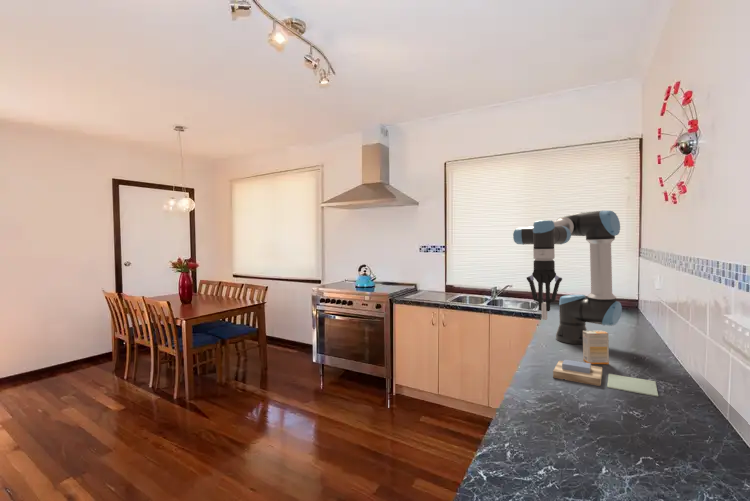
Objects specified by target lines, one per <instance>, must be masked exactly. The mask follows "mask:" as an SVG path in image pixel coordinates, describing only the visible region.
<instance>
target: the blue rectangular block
mask: <svg viewBox="0 0 750 501" xmlns="http://www.w3.org/2000/svg"><path fill="white" fill-rule="evenodd" d="M562 361H563V363H562V369H565V370H571V371H577V372H583V373H589V374H590V371H591V366H592V364H591V363H586V362H585V361H583V362H582V361H578V360H571V359H563V360H562Z"/></svg>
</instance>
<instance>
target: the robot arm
mask: <svg viewBox="0 0 750 501" xmlns="http://www.w3.org/2000/svg"><path fill="white" fill-rule="evenodd" d="M620 230H621V223H620V218H619V216H618V215H617V213H615V212H614V211H613V210H596V211H586V212H585V211H584V212H583V211H581V212H576V213H571V214H568V215H566V216H565V215H564V216H560V217H559V218H557V219H556V220H535V221H534V222H533V225H532V226H527V227H523V226H522V227H517V228H516V229H514V231H513V233H512V235H513V239H512V240H513V242H514V243H515V244H517V245H533V251H532V252H533V259H534V260H533V270H532V271H533V272H532V274H531V275H529V276H527V277H526V280H527V281H528V283H529V287H530V292H531V295H532V299H533V301H534V302H537V303H538V310H539V311H540V312H541V320H542V321H547V319H548V312H551V303H554V302H555V301H556V299H557V295H558V291H559V287H560V283H562V281H563V278H562V277H561V276H559V275H557V273H556V271H555V269H556V268H555V267H556V266H555V265H556V264H555V261H556V260H555V245H563V244H567V243H568V242H569V241H570V240H571V238H572V236H574V237H585V240H586V242H588V244H589V267H590V293H589V294H588V295H587V296H586V295H585V294H569V295H562V296H560V297H559V304H558V306H559V308H558V310H559V312H558V313H559V315H558V316H559V324H558V326H557V327H558V328H557V331H556V333H555V340H557V341H559V342H561V343H564V344H565V343H566V344H571V345H583V331H588V329H587V327H586V323H589V324H596V325H602V326H609V327H610V326H611V327H614V326H616V325H617V324H618V323H619V322H620V319H621V317H622V311H623V306H622V303H621V302H620V301H617V296H616V295H614V294H613V273H612V272H613V271H612V270H613V265H612V243H613V242H614V241H615V240H616V236H618V235H619V234H620ZM554 260H555V261H554ZM534 279H535V280H536V282H537V286H538V287H537V289H538V291H537V289H536V286H535V282H534ZM553 280H554V282H555V283H554V286H553V287H554V288H553V291H552V294H551V283H552V281H553ZM544 285H545V302H544V298H543V297H544V294H543V293H544ZM537 292H538V294H537Z"/></svg>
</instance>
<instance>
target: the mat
mask: <svg viewBox="0 0 750 501" xmlns="http://www.w3.org/2000/svg"><path fill="white" fill-rule="evenodd" d="M657 387H658V386H657V382H656V380H648V379H643V378H639V377H638V378H637V377H631V376H625V375H621V374H620V375H618V374H613V373H608V377H607V386H606V388H608V389H609V388H610V389H614V390H620V391H625V392H630V393H637V394H640V395H647V396H651V397H652V396H653V397H658V398H659V392H658V388H657Z"/></svg>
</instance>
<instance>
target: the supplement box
mask: <svg viewBox="0 0 750 501" xmlns="http://www.w3.org/2000/svg"><path fill="white" fill-rule="evenodd" d="M609 341H610V340H609V332H607V331H605V330H587V331H583V344H582V351H583V352H582V356H583V357H582V358H583V360H582V361H583V362H585V363H591V365H610V364H609V363H610V351H609Z"/></svg>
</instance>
